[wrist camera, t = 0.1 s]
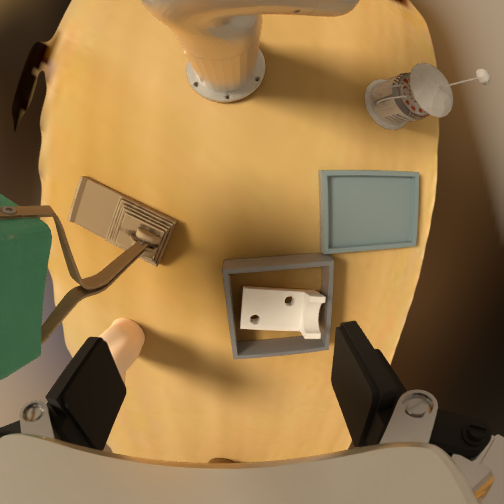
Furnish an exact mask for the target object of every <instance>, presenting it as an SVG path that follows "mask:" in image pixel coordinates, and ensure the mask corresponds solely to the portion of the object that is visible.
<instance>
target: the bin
mask: <svg viewBox="0 0 504 504" xmlns="http://www.w3.org/2000/svg"><path fill="white" fill-rule="evenodd" d="M321 266H322V283H321V294H322V295H323V296H325V297H326V299H325V303H322V304H321V312H320V333H321V337H320V339H305V338H304V337H303V336H296V337H287V338H277V339H266V340H254V341H239V342H238V338H237V330H236V322H235V313H234V304H233V295H232V286H231V276H230V274H236V273H249V272H262V271H274V270H286V269H298V268H310V267H321ZM222 272H223V280H224V289H225V297H226V305H227V313H228V321H229V329H230V336H231V344H232V351H233V358H234V359H247V358H260V357H272V356H282V355H291V354H300V353H308V352H316V351H323V350H329V342H330V330H331V316H332V300H333V279H334V260H333V259H332V258H331V257H330V255H329V254H323V253H322V252H321V253H308V254H296V255H283V256H271V257H258V258H245V259H232V260H224V263H223V268H222Z"/></svg>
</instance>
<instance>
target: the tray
mask: <svg viewBox="0 0 504 504" xmlns="http://www.w3.org/2000/svg"><path fill="white" fill-rule="evenodd" d="M318 171H319V196H320V251H321V252H322V253H323V254H333V253H345V252H356V251H368V250H380V249H391V248H402V247H413V246H416V240H417V227H418V208H419V172H408V171H383V170H318Z"/></svg>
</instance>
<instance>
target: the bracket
mask: <svg viewBox="0 0 504 504" xmlns="http://www.w3.org/2000/svg"><path fill="white" fill-rule="evenodd" d="M289 296H292V300H291V302H289V303H285V299H286V298H287V297H289ZM325 299H326V297H325V296H323V295H322V294H320V293H319V292H317V291H316V290H302V289H284V288H267V287H251V286H243V291H242V304H241V317H240V329H254V330H276V331H300V332H301V334H302V335H303V337H304V338H305V339H320V337H321V333H320V331H319V326H318V316H319V310H320V306H321V304H322V303H325ZM252 315H258V317H257V318H256V319H251V318H250V317H251V316H252Z"/></svg>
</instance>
